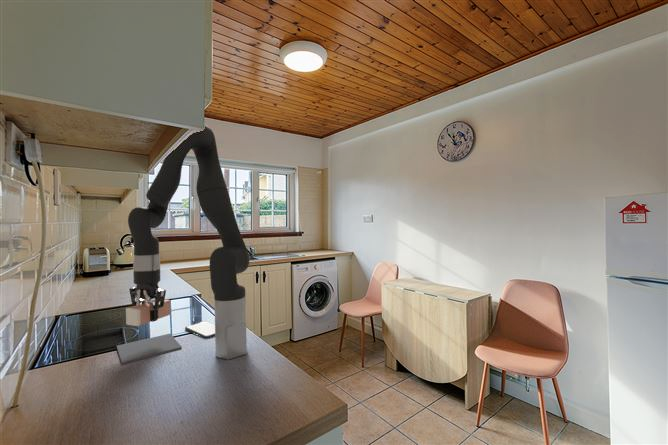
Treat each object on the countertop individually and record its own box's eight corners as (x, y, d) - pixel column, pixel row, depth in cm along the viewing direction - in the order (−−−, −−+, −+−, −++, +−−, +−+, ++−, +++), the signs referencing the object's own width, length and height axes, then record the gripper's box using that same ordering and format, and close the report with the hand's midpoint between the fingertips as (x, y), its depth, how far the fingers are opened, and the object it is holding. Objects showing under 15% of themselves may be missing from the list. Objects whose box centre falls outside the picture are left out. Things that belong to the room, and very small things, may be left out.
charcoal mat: (181, 348, 100) (181, 346, 100) (121, 364, 89) (121, 362, 89) (170, 335, 112) (170, 333, 112) (116, 347, 102) (116, 345, 102)
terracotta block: (170, 300, 106) (137, 310, 95) (170, 314, 106) (137, 326, 95) (159, 298, 108) (125, 308, 96) (159, 313, 108) (126, 324, 97)
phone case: (228, 333, 114) (205, 324, 124) (228, 329, 114) (205, 320, 124) (206, 341, 107) (183, 330, 117) (205, 336, 107) (183, 326, 117)
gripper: (120, 269, 99) (121, 321, 100) (152, 271, 94) (153, 326, 95) (142, 265, 106) (142, 314, 107) (173, 267, 101) (173, 318, 102)
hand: (147, 319), depth 101 cm, fingers closed on terracotta block, 5 cm apart
